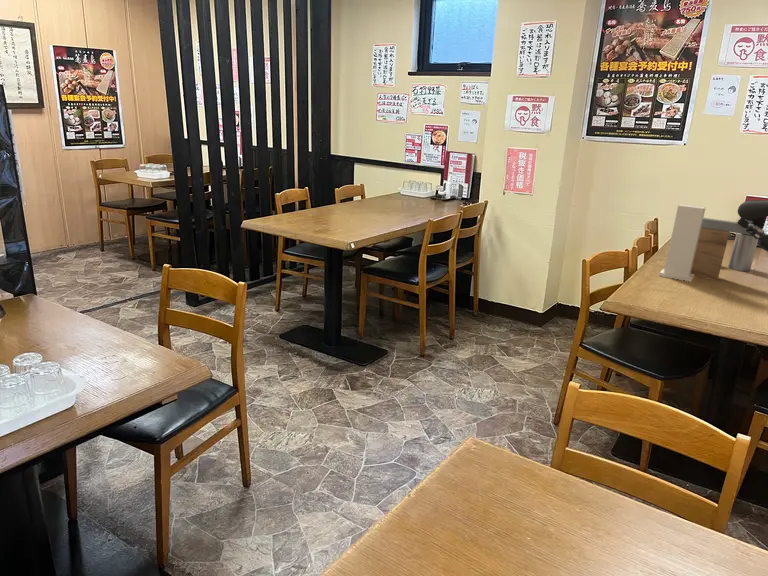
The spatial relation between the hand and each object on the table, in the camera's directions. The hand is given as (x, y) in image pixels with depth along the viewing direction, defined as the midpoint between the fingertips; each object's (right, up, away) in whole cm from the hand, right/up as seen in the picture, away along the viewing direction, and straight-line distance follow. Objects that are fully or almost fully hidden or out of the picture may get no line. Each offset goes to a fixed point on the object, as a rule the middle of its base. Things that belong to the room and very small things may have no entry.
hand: (739, 220), depth 244 cm
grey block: (-6, -4, +5) cm, 8 cm away
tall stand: (-22, -24, +10) cm, 34 cm away
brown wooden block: (-11, -23, +15) cm, 30 cm away
